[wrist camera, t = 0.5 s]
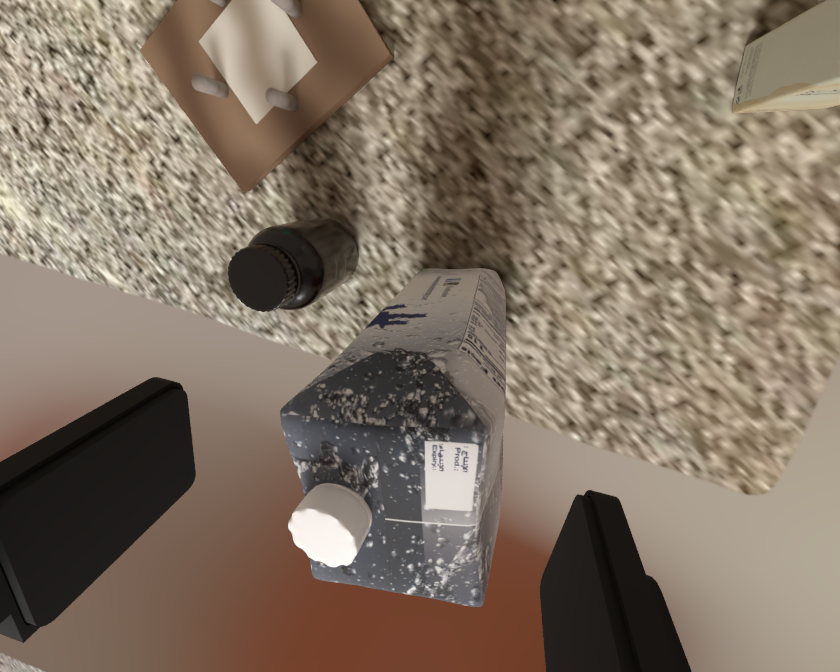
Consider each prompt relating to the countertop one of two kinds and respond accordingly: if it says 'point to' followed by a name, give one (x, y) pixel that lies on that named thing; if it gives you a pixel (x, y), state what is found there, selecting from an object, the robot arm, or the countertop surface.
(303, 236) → the supplement bottle
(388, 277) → the countertop surface
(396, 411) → the juice carton
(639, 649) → the robot arm
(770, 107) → the skincare box
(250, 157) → the brown pegged board
